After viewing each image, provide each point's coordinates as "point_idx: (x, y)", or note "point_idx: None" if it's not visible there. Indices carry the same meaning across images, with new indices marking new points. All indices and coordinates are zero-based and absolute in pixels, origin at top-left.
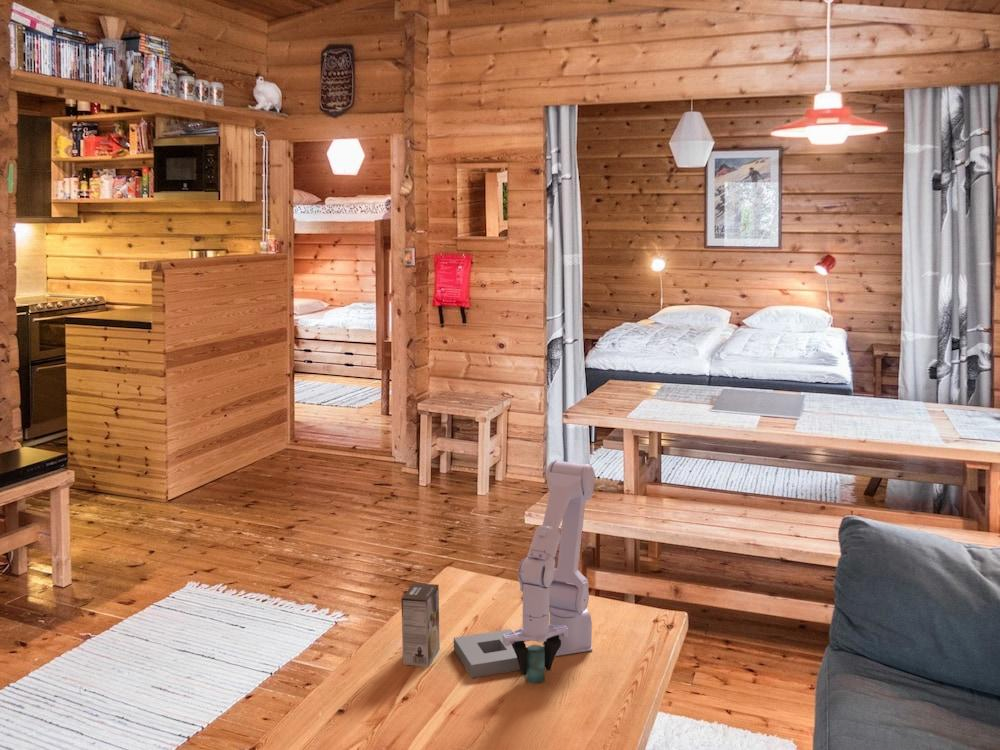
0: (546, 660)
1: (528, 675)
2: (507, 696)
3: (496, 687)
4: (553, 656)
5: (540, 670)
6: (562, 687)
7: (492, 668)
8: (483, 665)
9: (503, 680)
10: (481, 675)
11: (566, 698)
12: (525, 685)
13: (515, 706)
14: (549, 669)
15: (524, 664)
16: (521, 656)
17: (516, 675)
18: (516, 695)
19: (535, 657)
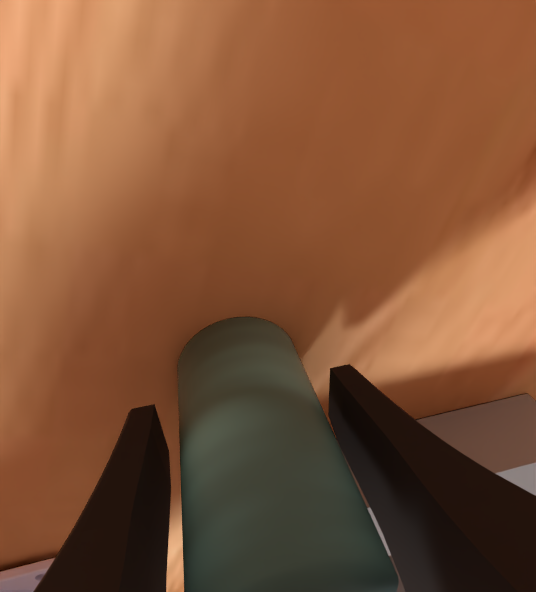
0: (157, 496)
1: (304, 371)
2: (487, 192)
3: (482, 305)
4: (82, 539)
5: (232, 389)
6: (49, 242)
7: (452, 442)
8: (515, 452)
9: (413, 366)
10: (486, 406)
11: (18, 16)
12: (322, 306)
13: (523, 16)
14: (139, 415)
15: (399, 426)
16: (514, 497)
17: (328, 405)
18: (431, 192)
19: (320, 503)
